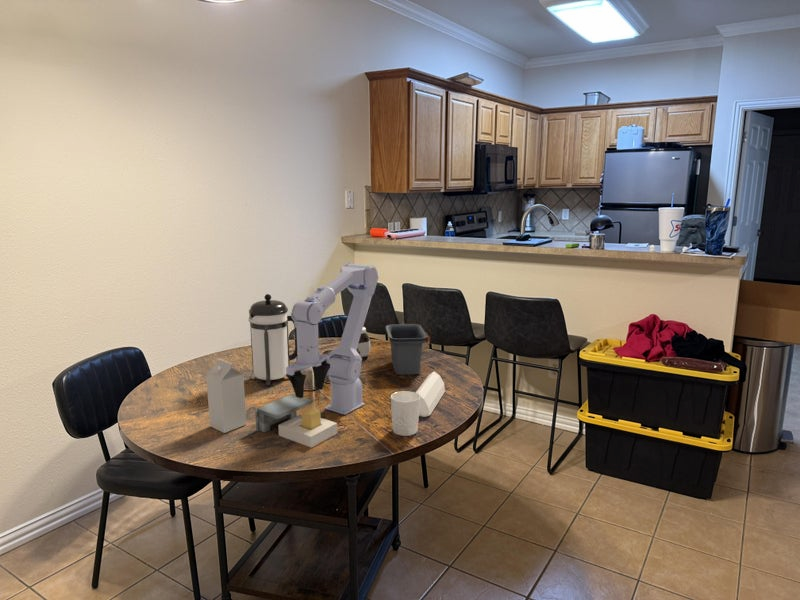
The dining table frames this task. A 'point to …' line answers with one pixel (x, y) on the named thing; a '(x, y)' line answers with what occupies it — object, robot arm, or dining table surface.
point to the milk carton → (226, 397)
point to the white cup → (405, 412)
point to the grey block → (279, 411)
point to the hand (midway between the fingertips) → (309, 392)
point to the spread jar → (363, 345)
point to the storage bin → (406, 347)
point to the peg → (311, 418)
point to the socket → (307, 431)
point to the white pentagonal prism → (430, 394)
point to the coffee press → (270, 339)
